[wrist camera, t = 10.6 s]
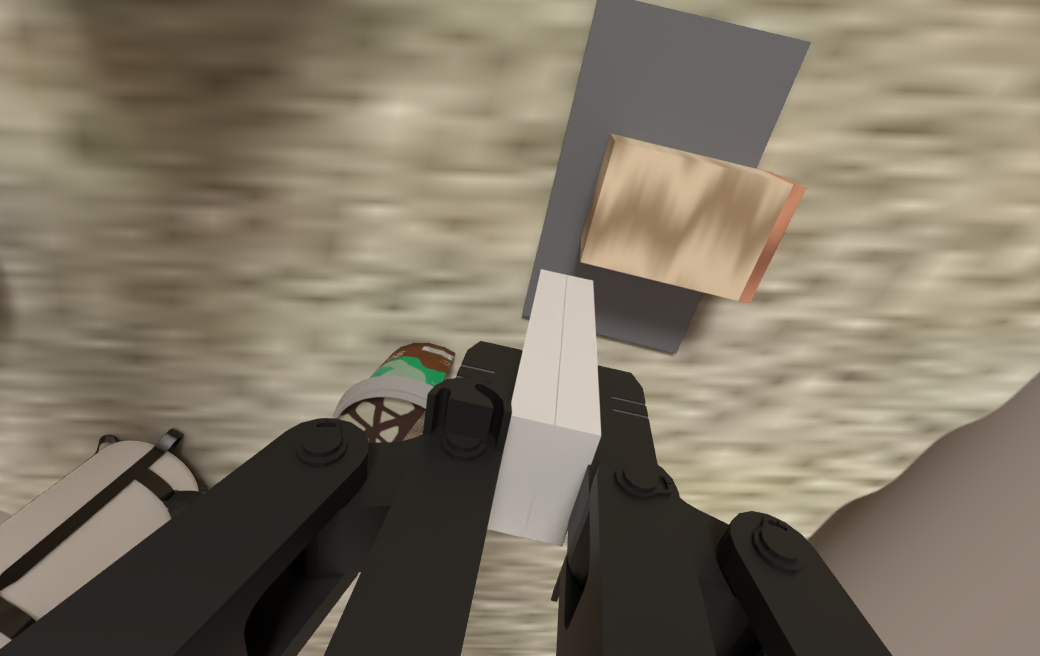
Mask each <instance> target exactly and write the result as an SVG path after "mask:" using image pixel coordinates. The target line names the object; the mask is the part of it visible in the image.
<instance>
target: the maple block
mask: <svg viewBox="0 0 1040 656" xmlns="http://www.w3.org/2000/svg"><path fill="white" fill-rule="evenodd" d="M805 190H806V187H804V186H801V185H799V184H797V183H795V182H792V181H790V180H788V179H785V178H783V177H781V176H779V175H776V174H774V173H772V172H768V171H763V170H759V169H755V168H751V167H747V166H743V165H739V164H734V163H730V162H726V161H722V160H718V159H714V158H710V157H706V156H701V155H697V154H693V153H689V152H685V151H681V150H677V149H672V148H668V147H664V146H660V145H656V144H652V143H648V142H644V141H639V140H635V139H631V138H627V137H623V136H619V135H615V134H610V137H609V141H608V144H607V148H606V151H605V155H604V158H603V162H602V166H601V169H600V173H599V176H598V180H597V183H596V187H595V190H594V194H593V198H592V201H591V205H590V208H589V212H588V215H587V219H586V222H585V226H584V229H583V233H582V237H581V258H580V262H582V263H586V264H590V265H594V266H598V267H602V268H606V269H611V270H615V271H619V272H623V273H627V274H631V275H635V276H639V277H643V278H647V279H651V280H655V281H659V282H663V283H667V284H672V285H676V286H680V287H684V288H688V289H692V290H696V291H700V292H704V293H708V294H712V295H716V296H720V297H724V298H728V299H732V300H737V301H741V302H745V303H749V304H750V302H751V300H752V298H753V296H754V294H755V292H756V290H757V288H758V286H759V283H760V281H761V279H762V277H763V275H764V273H765V271H766V269H767V267H768V265H769V263H770V261H771V259H772V257H773V255H774V253H775V251H776V249H777V247H778V245H779V243H780V241H781V239H782V237H783V235H784V233H785V230H786V228H787V226H788V224H789V222H790V220H791V218H792V216H793V214H794V212H795V210H796V208H797V206H798V204H799V202H800V200H801V198H802V196H803V194H804V192H805Z"/></svg>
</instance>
